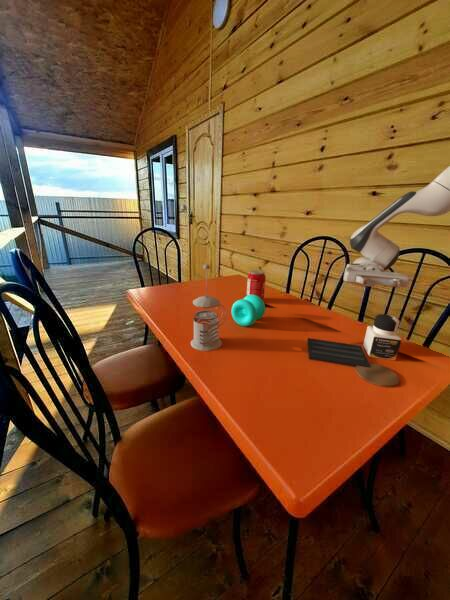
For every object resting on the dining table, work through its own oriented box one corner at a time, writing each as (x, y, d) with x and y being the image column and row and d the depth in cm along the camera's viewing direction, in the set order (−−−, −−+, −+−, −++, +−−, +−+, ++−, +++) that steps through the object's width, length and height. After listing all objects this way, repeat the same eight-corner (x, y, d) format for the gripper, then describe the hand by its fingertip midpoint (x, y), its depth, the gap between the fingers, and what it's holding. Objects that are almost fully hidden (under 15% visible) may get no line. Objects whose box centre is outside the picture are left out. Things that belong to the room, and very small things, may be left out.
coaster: (404, 376, 66) (404, 374, 66) (391, 392, 60) (391, 391, 60) (364, 359, 73) (364, 358, 73) (348, 372, 67) (349, 371, 67)
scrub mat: (360, 348, 80) (361, 344, 80) (370, 369, 69) (370, 365, 69) (307, 340, 84) (308, 337, 84) (308, 359, 73) (309, 355, 73)
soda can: (242, 304, 115) (244, 271, 110) (252, 300, 120) (255, 268, 115) (256, 308, 110) (259, 274, 105) (266, 304, 115) (269, 272, 110)
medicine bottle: (368, 357, 75) (378, 320, 71) (362, 345, 81) (370, 310, 77) (395, 361, 73) (407, 323, 69) (387, 348, 80) (396, 313, 76)
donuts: (265, 321, 97) (267, 296, 94) (253, 330, 89) (255, 304, 86) (242, 315, 102) (244, 291, 99) (229, 323, 94) (230, 298, 91)
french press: (184, 340, 81) (183, 262, 73) (215, 331, 87) (216, 259, 79) (200, 354, 73) (199, 269, 65) (232, 343, 80) (235, 265, 72)
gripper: (399, 285, 94) (414, 296, 81) (339, 279, 99) (345, 289, 86) (403, 268, 92) (420, 277, 79) (342, 263, 97) (349, 271, 84)
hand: (380, 283), depth 83 cm, fingers open, 8 cm apart
